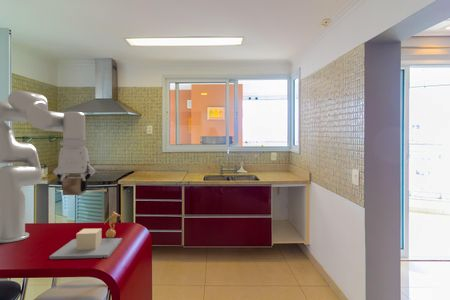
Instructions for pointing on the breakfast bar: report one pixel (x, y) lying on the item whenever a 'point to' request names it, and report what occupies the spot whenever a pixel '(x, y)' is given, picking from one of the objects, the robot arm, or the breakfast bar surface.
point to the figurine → (111, 232)
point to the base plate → (87, 253)
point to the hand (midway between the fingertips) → (74, 190)
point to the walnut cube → (72, 186)
